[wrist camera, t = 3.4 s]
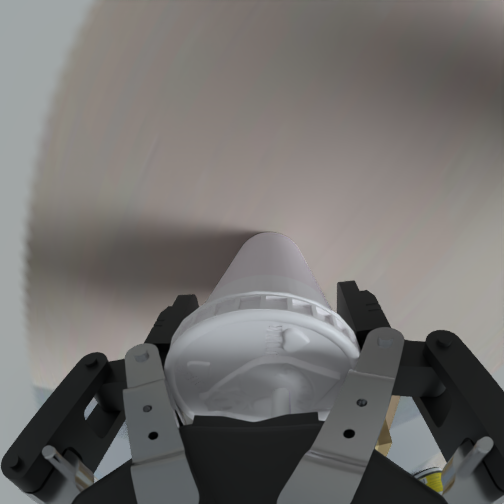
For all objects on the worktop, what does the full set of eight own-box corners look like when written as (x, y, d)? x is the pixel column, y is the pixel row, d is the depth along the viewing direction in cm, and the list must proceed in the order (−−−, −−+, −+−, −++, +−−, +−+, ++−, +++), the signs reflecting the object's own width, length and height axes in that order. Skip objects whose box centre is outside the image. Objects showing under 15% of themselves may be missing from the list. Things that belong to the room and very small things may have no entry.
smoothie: (336, 293, 18) (395, 525, 5) (237, 320, 19) (196, 543, 6) (307, 192, 16) (408, 432, 3) (196, 229, 17) (54, 452, 4)
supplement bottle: (434, 477, 30) (447, 527, 21) (402, 487, 30) (412, 538, 21) (446, 462, 28) (462, 516, 18) (413, 472, 28) (426, 529, 19)
